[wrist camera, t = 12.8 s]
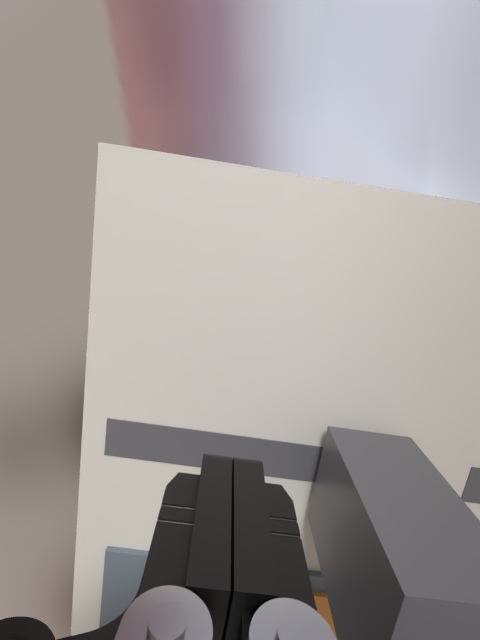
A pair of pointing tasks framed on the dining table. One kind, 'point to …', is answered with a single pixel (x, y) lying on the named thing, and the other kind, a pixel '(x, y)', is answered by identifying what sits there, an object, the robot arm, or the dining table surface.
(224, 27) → the dining table surface
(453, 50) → the dining table surface
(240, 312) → the switch panel
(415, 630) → the slider
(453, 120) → the dining table surface
